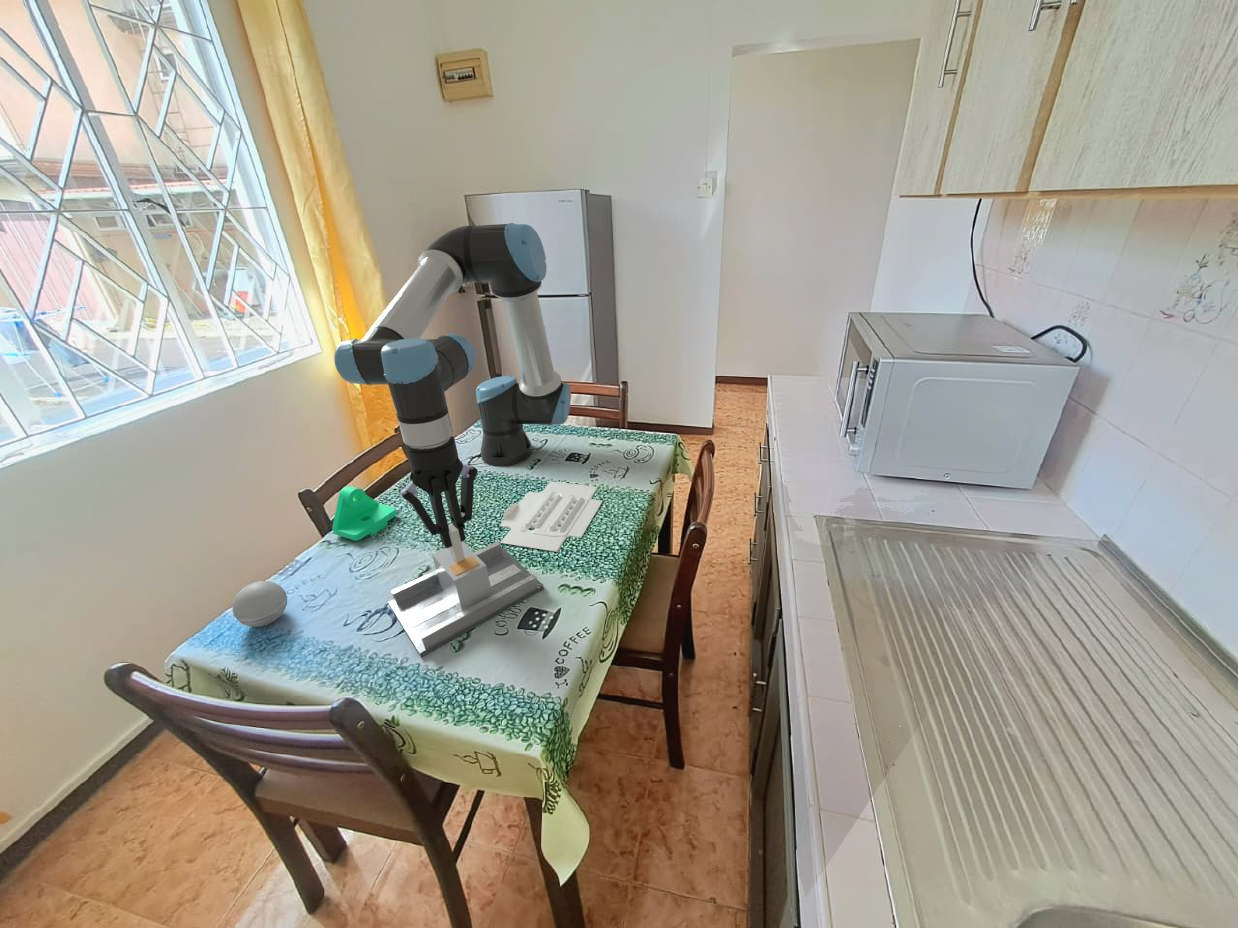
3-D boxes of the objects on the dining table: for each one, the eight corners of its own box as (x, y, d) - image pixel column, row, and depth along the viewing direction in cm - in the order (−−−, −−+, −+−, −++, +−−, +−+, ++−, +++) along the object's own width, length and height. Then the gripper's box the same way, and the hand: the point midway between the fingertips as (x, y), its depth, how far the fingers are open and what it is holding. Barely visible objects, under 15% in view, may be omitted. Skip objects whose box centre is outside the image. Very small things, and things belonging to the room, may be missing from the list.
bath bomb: (282, 598, 95) (266, 566, 91) (301, 614, 91) (286, 581, 87) (235, 624, 89) (216, 591, 85) (254, 643, 85) (235, 609, 81)
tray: (610, 491, 127) (609, 479, 125) (572, 561, 104) (571, 547, 102) (538, 483, 132) (536, 471, 131) (487, 548, 109) (484, 535, 107)
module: (469, 573, 97) (462, 539, 94) (493, 599, 91) (486, 564, 87) (440, 587, 94) (431, 553, 90) (463, 615, 87) (454, 579, 83)
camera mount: (359, 545, 110) (345, 506, 105) (335, 537, 112) (321, 500, 108) (400, 517, 119) (389, 480, 114) (377, 511, 122) (366, 475, 117)
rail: (503, 551, 105) (501, 538, 103) (543, 589, 94) (541, 575, 92) (389, 606, 92) (385, 592, 90) (421, 657, 81) (416, 642, 79)
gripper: (458, 421, 84) (481, 534, 95) (379, 445, 76) (414, 563, 87) (477, 434, 78) (500, 551, 89) (395, 460, 71) (430, 584, 82)
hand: (458, 557), depth 88 cm, fingers closed
